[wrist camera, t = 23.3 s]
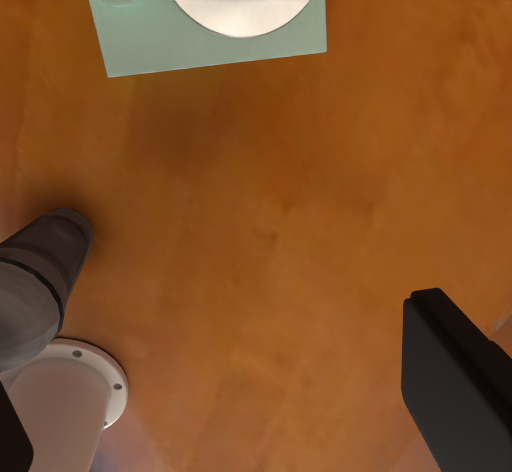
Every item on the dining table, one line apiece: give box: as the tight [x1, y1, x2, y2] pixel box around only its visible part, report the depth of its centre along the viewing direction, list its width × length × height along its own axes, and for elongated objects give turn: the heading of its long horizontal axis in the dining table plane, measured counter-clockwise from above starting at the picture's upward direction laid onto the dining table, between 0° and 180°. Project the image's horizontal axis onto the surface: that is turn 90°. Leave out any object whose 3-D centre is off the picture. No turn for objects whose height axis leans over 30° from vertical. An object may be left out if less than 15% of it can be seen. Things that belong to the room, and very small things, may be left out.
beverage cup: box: [0, 208, 94, 372], centre depth 27 cm, size 7×7×20 cm
